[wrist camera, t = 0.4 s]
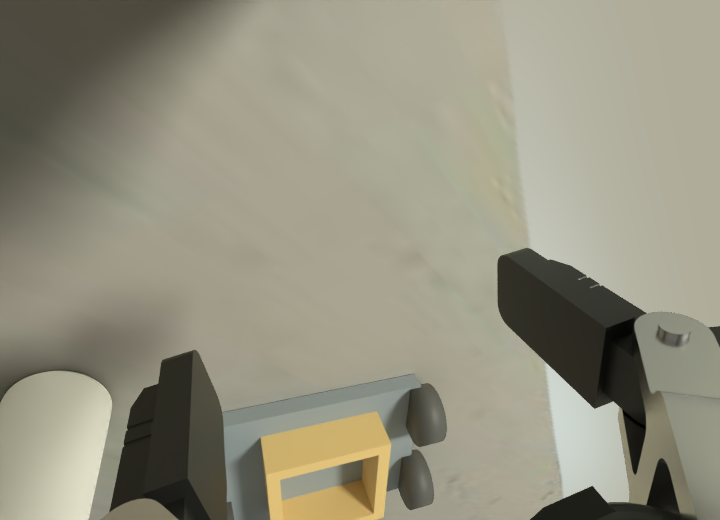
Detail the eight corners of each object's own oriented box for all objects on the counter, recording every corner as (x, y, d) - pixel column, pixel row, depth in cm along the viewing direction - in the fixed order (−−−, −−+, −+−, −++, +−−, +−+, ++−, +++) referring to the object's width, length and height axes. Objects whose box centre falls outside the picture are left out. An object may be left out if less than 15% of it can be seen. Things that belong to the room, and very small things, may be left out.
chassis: (191, 418, 35) (190, 474, 31) (424, 371, 40) (450, 413, 36) (213, 523, 42) (215, 580, 37) (410, 470, 47) (430, 515, 43)
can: (-21, 412, 29) (-134, 622, 19) (46, 350, 29) (-35, 534, 19) (72, 448, 33) (17, 640, 23) (134, 393, 32) (105, 566, 22)
